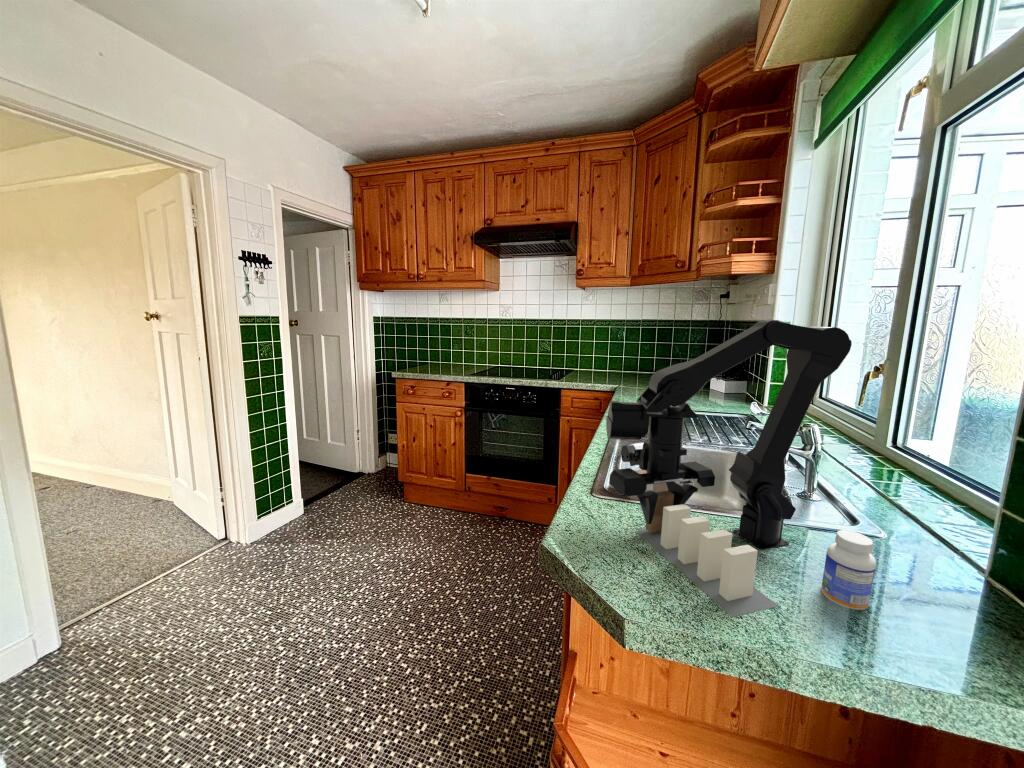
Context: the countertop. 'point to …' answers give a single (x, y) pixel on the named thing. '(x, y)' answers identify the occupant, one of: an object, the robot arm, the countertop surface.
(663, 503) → the walnut domino
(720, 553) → the tile
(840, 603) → the pill bottle
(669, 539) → the tile
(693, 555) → the tile
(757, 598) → the mat
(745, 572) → the tile
